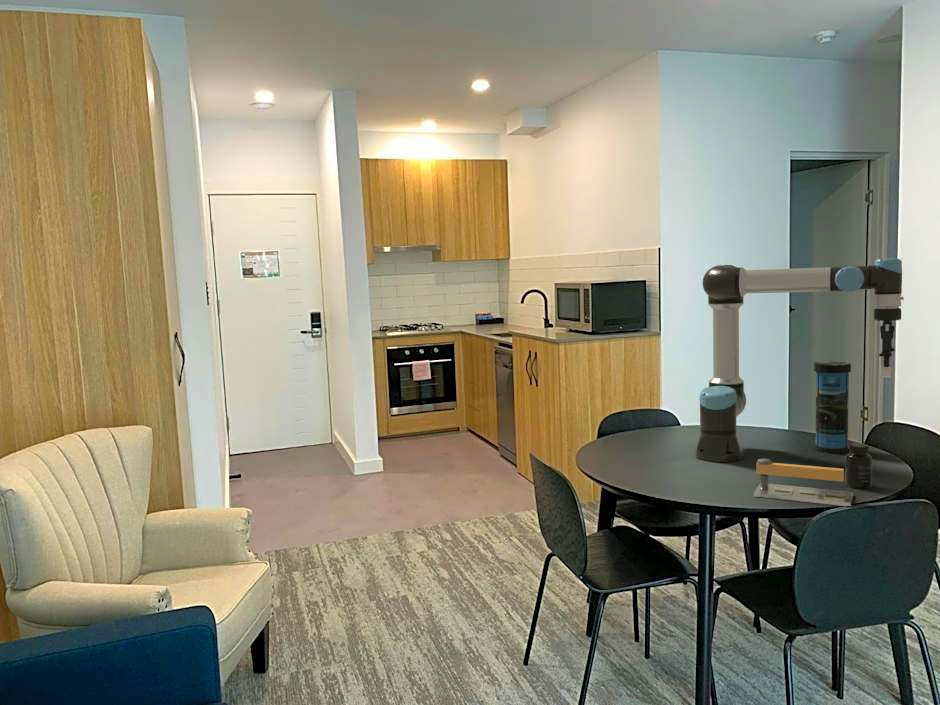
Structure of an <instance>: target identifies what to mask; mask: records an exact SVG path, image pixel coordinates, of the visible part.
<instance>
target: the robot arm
mask: <svg viewBox="0 0 940 705" xmlns="http://www.w3.org/2000/svg"><path fill="white" fill-rule="evenodd" d="M902 262H903V261H902V260H901V259H900V258H896V257H895V258H877V259H875V260H874V263H873V264H872V265H849V266H848V265H844V266H830V267H828V266H827V267H825V266H824V267H801V268H800V267H799V268H798V267H797V268H774V269H773V268H772V269H748V270H747V269H746V268H744V267H737V266H734V265H732V264H724V265H721V264H720V265H718V264H717V265H715V266H711V268H709V269H708V270H707V271H706V272H705V273H704V275H703V278H702V289H703V290H704V292H705V294H707V296H708V298H707V300H708V303H707V304H708V306H709V307H710V308H712V346H713V347H712V348H713V349H712V356H713V358H712V360H713V361H712V362H713V363H712V365H713V370H712V372H713V376H712V378H710V380H708V387H704V388H703V389H701V390H700V392H699V424H700V425H699V427H700V428H699V430H700V433H699V436H698V440H697V442H696V447H695V451H694V456H695V458H696V459H699V460H702V461H707V462H716V463H724V462H725V463H730V462H737V461H740V460H742V458H743V450H742V448H741V445H740V441H739V438H738V436H737V417H738V416H739V415H741V414H742V413H743V411H744V409H745V408H746V403H747V398H746V397H747V396H746V394H745V390H744V389H745V386H744V385H745V384H744V380H743V379H742V377H740V316H739V315H740V312H739V311H740V308H741V307H742V306H743V305H744V297H745V295H746V294H775V293H777V294H779V293H781V294H783V293H815V292H816V293H817V292H818V293H819V292H825V293H826V292H844V293H845V292H846V293H849V292H851V293H852V292H855V291H857V290H874V293H873V307H874V310H873V320H875V321H878V322H882V325H880V327H879V328H880V329H879V330H880V331H879V333H880V339H881V341H882V342H881V352H880V353H879V356H878V357H881V360H880V361H881V362H880V363H881V366H880V367H881V370H880V372H881V375H880V377H881V378H889V379H890V378H892V371H893V370H892V368H893V366H892V365H893V359H892V358H893V352H895V348H894V347H893V345H892V344H893V339H894V333H895V325H893V322H892V321H894V322H895V321H901V320H902V309H901V308H900V307H901V306H902V301H903V300H904V299H905V298H904V296H902V292H903V291H902V290H903V263H902Z"/></svg>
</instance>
